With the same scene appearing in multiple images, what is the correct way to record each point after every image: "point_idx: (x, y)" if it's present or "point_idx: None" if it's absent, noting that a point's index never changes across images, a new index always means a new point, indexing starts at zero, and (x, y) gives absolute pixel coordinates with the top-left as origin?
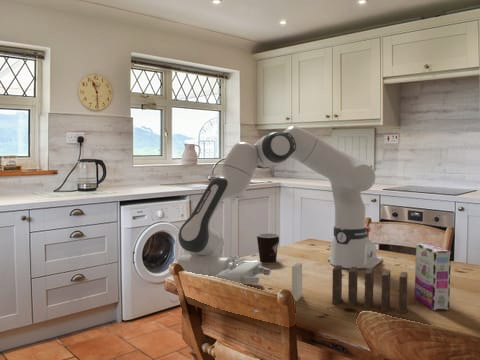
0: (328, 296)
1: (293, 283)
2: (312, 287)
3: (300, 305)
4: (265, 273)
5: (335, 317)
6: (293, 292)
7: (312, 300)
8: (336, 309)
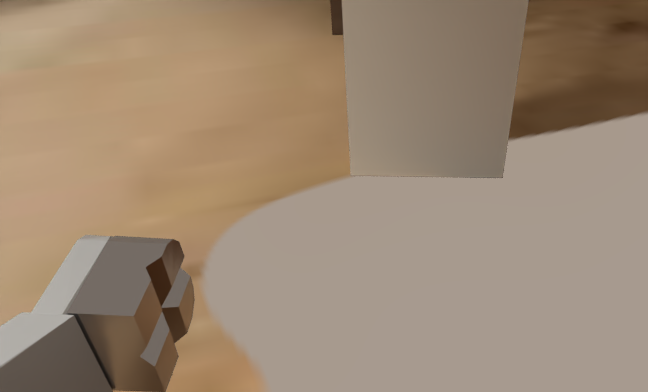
0: (310, 57)
1: (521, 23)
2: (123, 137)
3: (575, 121)
4: (171, 341)
5: (633, 3)
6: (509, 105)
7: None
8: None
